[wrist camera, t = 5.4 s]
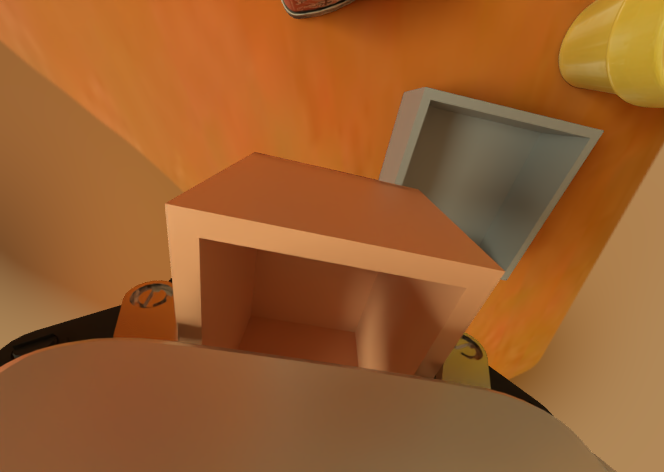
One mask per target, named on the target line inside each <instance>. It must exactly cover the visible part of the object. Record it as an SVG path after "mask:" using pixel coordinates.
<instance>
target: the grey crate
mask: <svg viewBox="0 0 664 472" xmlns="http://www.w3.org/2000/svg"><path fill="white" fill-rule="evenodd" d="M603 132H604V131H603V130H599V129H595V128H591V127H587V126H583V125H579V124H575V123H571V122H566V121H562V120H558V119H554V118H550V117H546V116H542V115H538V114H534V113H530V112H526V111H521V110H517V109H513V108H509V107H505V106H501V105H497V104H493V103H489V102H485V101H481V100H477V99H472V98H468V97H464V96H460V95H456V94H452V93H448V92H444V91H440V90H436V89H432V88H428V87H423V88H419V89H415V90H411V91H407V92H404V94H403V98H402V101H401V105H400V108H399V111H398V115H397V118H396V122H395V125H394V129H393V132H392V136H391V139H390V142H389V146H388V149H387V153H386V156H385V160H384V163H383V167H382V170H381V173H380V177H379V181H384V182H388V183H393V184H397V185H401V186H406V187H410V188H414V189H418V190H419V191H421V192H422V193H423V194H424V195H425V196H426V197H427V198H428V199H429V200H430V201H431V202H432V203H433V204H434V205H435V206H436V207H438V208H439V209H440V210H441V211H442V212H443V213H444V214H445V215H446V216H447V217H448V218H449V219H450V220H451V221H452V222H453V223H454V224H456V225H457V226H458V227H459V228H460V229H461V230H462V231H463V232H464V233H465V234H466V235H467V236H468V237H469V238H470V239H471V240H472V241H474V242H475V243H476V244H477V245H478V246H479V247H480V248H481V249H482V250H483V251H484V252H485V253H486V254H487V255H488V256H489V257H491V258H492V259H493V260H494V261H495V262H496V263H497V264H498V265H499V266H500V267H501V268H502V269H503V270H504V271H505V273H504V274H503V276H502V277H501V280H507V279H508V277H509V276H510V274H511V273H512V271H513V270H514V268H515V267H516V265H517V264H518V262H519V261H520V259H521V258H522V256H523V254H524V253H525V251H526V250H527V248H528V247H529V245H530V244H531V242H532V241H533V239H534V238H535V236H536V235H537V233H538V231H539V230H540V228H541V227H542V225H543V224H544V222H545V221H546V219H547V218H548V216H549V215H550V213H551V212H552V210H553V208H554V207H555V205H556V204H557V202H558V201H559V199H560V198H561V196H562V195H563V193H564V192H565V190H566V189H567V187H568V185H569V184H570V182H571V181H572V179H573V178H574V176H575V175H576V173H577V172H578V170H579V169H580V167H581V166H582V164H583V162H584V161H585V159H586V158H587V156H588V155H589V153H590V152H591V150H592V149H593V147H594V146H595V144H596V143H597V141H598V139H599V138H600V136H601V135H602V133H603Z"/></svg>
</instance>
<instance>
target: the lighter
mask: <svg viewBox="0 0 664 472" xmlns="http://www.w3.org/2000/svg"><path fill="white" fill-rule="evenodd" d="M281 1H282V3H283V6H284V8H285V10H286V11H287V13H288V14H289V15H290V16H291V17H293V18H296V19H301V18H308V17H316V16H319V15H323V14H326V13H330V12H333V11H336V10H338V9H340V8H342V7H344V6H346V5H348V4H350V3H352V2H353V1H355V0H281Z"/></svg>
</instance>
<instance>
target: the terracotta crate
mask: <svg viewBox="0 0 664 472" xmlns="http://www.w3.org/2000/svg"><path fill="white" fill-rule="evenodd" d="M165 210H166V221H167V230H168V242H169V253H170V263H171V274H172V284H173V295H174V306H175V316H176V323H178V326H179V342H184V343H192V344H200V345H208V346H215V347H222V348H230V349H237V350H244V351H251V352H258V353H265V354H272V355H279V356H286V357H293V358H300V359H307V360H314V361H321V362H328V363H334V364H341V365H348V366H355V367H362V368H368V369H375V370H381V371H388V372H394V373H401V374H408V375H414V376H421V377H427V378H434V377H435V375H436V374H437V372H438V371H439V369H440V368H441V366H442V365H443V363H444V362H445V360H446V359H447V357H448V356H449V355H450V353H451V352H452V350H453V349H454V347H455V346H456V344H457V343H458V341H459V340H460V338H461V337H462V335H463V334H464V332H465V331H466V329H467V328H468V326H469V325H470V323H471V322H472V320H473V319H474V317H475V316H476V314H477V313H478V312H479V310H480V309H481V307H482V306H483V304H484V303H485V301H486V300H487V298H488V297H489V295H490V294H491V292H492V291H493V289H494V288H495V286H496V285H497V283H498V282H499V280H500V279H501V277H502V276H503V274H504V273H505V271H504V270H503V269H502V268H501V267H500V266H499V265H498V264H497V263H496V262H495V261H494V260H493V259H492V258H491V257H489V256H488V255H487V254H486V253H485V252H484V251H483V250H482V249H481V248H480V247H479V246H478V245H477V244H476V243H475V242H474V241H472V240H471V239H470V238H469V237H468V236H467V235H466V234H465V233H464V232H463V231H462V230H461V229H460V228H459V227H458V226H457V225H456V224H454V223H453V222H452V221H451V220H450V219H449V218H448V217H447V216H446V215H445V214H444V213H443V212H442V211H441V210H440V209H439V208H438V207H436V206H435V205H434V204H433V203H432V202H431V201H430V200H429V199H428V198H427V197H426V196H425V195H424V194H423V193H422V192H421V191H419V190H418V189H414V188H410V187H406V186H401V185H397V184H393V183H388V182H384V181H379V180H375V179H371V178H366V177H362V176H357V175H353V174H349V173H344V172H340V171H336V170H331V169H327V168H322V167H318V166H314V165H309V164H305V163H300V162H296V161H292V160H287V159H283V158H279V157H274V156H270V155H265V154H261V153H257V152H254V153H252V154H251V155H249V156H247V157H245V158H244V159H242V160H240V161H238V162H237V163H235V164H233V165H231V166H230V167H228V168H226V169H224V170H223V171H221V172H219V173H217V174H216V175H214V176H212V177H210V178H209V179H207V180H205V181H203V182H202V183H200V184H198V185H197V186H195V187H193V188H191V189H190V190H188V191H186V192H184V193H183V194H181V195H179V196H177V197H176V198H174V199H172V200H170V201H169V202H167V203H165Z"/></svg>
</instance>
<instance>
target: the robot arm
mask: <svg viewBox="0 0 664 472" xmlns="http://www.w3.org/2000/svg"><path fill="white" fill-rule="evenodd" d="M0 472H616V471H615V470H613V469H612V468H611V467H610V466H609V465H607V464H606V463H605V462H604V461H602V460H601V459H600V458H599V457H597V456H596V455H595V454H593V453H592V452H591V451H590V449H589V448H588V447H587V446H586V445H585V444H584V443H583V441H582V440H581V439H580V438H579V437H578V436H577V435H576V434H575V433H574V432H573V431H572V430H571V429H570V428H569V427H567V426H566V425H565V424H564V423H562V422H561V421H560V420H558V419H557V418H555V417H554V416H553V415H552V414H551V413H550V412H549V411H548V410H547V409H546V408H545V407H544V406H543V405H541V404H540V403H539V402H538V401H536V400H535V399H534V398H532V397H531V396H530V395H528V394H527V393H525V392H524V391H523V390H521V389H520V388H519V387H517V386H516V385H514V384H513V383H512V382H510V381H509V380H508V379H506V378H505V377H503V376H502V375H501V374H499V373H498V372H497V371H495V370H494V369H492V368H491V367H490V366H488V358H487V354H486V351H485V350H484V348H483V346H482V345H481V344H480V343H479V342H478V341H477V340H476V339H474V338H473V337H472V336H470V335H468V334H467V333H464V334H463V335H462V337H461V338H460V340H459V341H458V343H457V344H456V346H455V347H454V349H453V350H452V352H451V353H450V355H449V356H448V357H447V359H446V360H445V362H444V363H443V365H442V366H441V368H440V369H439V371H438V372H437V374H436V375H435V377H434V378H427V377H421V376H414V375H408V374H401V373H394V372H388V371H381V370H375V369H368V368H362V367H355V366H348V365H341V364H334V363H328V362H321V361H314V360H307V359H300V358H293V357H286V356H279V355H272V354H265V353H258V352H251V351H244V350H237V349H230V348H222V347H215V346H208V345H200V344H192V343H184V342H179V326H178V323H176V316H175V306H174V295H173V284H172V278H171V280H169V281H162V280H161V281H150V282H145V283H142V284H140V285H137V286H135V287H134V288H132V289H131V290H129V291H128V292H127V293H126V294H125V296H124V298H123V301H122V305H120V306H117V307H113V308H110V309H107V310H103V311H100V312H97V313H94V314H90V315H87V316H83V317H80V318H76V319H73V320H70V321H67V322H63V323H60V324H56V325H53V326H50V327H46V328H43V329H40V330H36V331H34V332H31V333H28V334H25V335H23V336H21V337H19V338H17V339H15V340H13V341H11V342H10V343H9V344H8V345H6V346H5V347H3V348H2V349H1V350H0Z"/></svg>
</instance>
